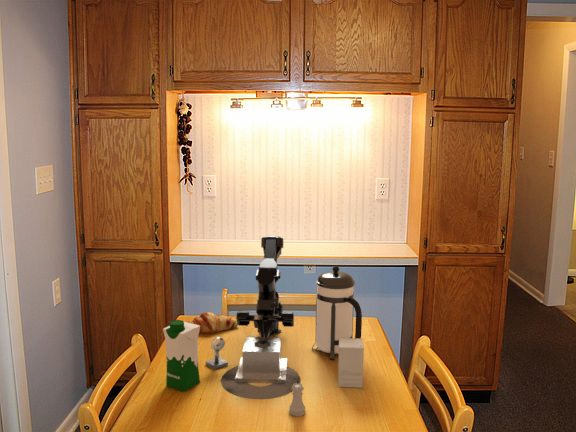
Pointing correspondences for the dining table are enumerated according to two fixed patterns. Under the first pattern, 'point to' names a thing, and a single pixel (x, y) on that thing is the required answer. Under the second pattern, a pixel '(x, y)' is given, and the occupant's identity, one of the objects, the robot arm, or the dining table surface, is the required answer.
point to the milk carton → (182, 355)
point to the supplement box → (350, 362)
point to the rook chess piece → (297, 401)
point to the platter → (259, 386)
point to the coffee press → (335, 311)
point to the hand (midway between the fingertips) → (264, 343)
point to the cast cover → (262, 361)
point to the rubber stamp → (217, 354)
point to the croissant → (213, 322)
